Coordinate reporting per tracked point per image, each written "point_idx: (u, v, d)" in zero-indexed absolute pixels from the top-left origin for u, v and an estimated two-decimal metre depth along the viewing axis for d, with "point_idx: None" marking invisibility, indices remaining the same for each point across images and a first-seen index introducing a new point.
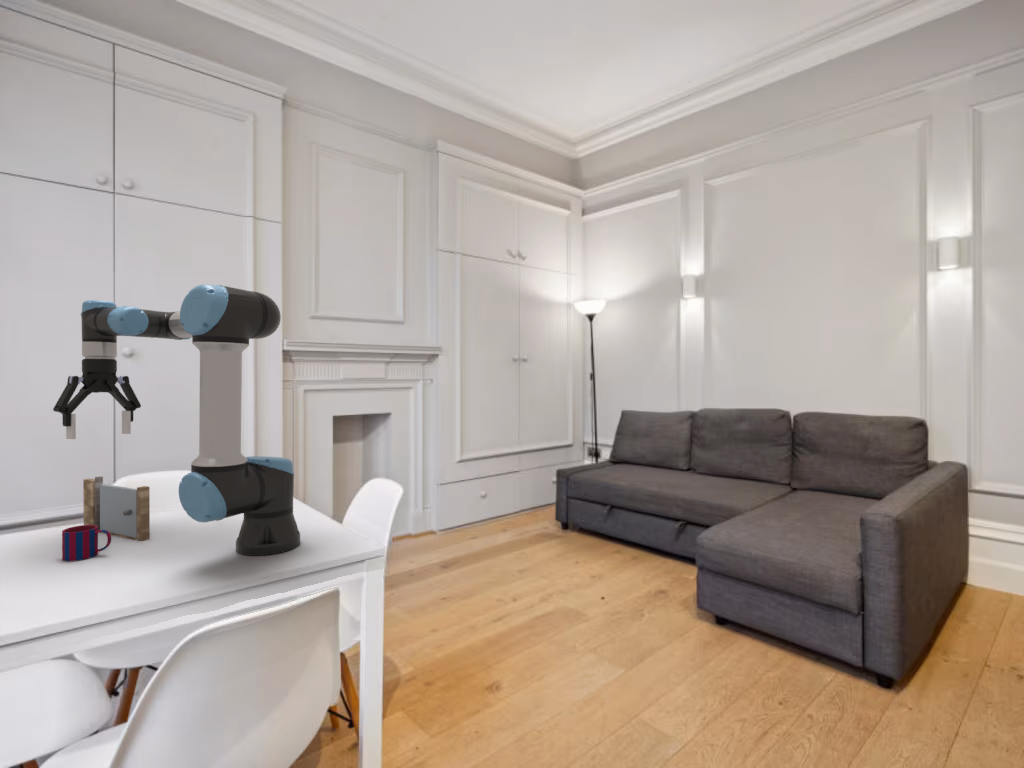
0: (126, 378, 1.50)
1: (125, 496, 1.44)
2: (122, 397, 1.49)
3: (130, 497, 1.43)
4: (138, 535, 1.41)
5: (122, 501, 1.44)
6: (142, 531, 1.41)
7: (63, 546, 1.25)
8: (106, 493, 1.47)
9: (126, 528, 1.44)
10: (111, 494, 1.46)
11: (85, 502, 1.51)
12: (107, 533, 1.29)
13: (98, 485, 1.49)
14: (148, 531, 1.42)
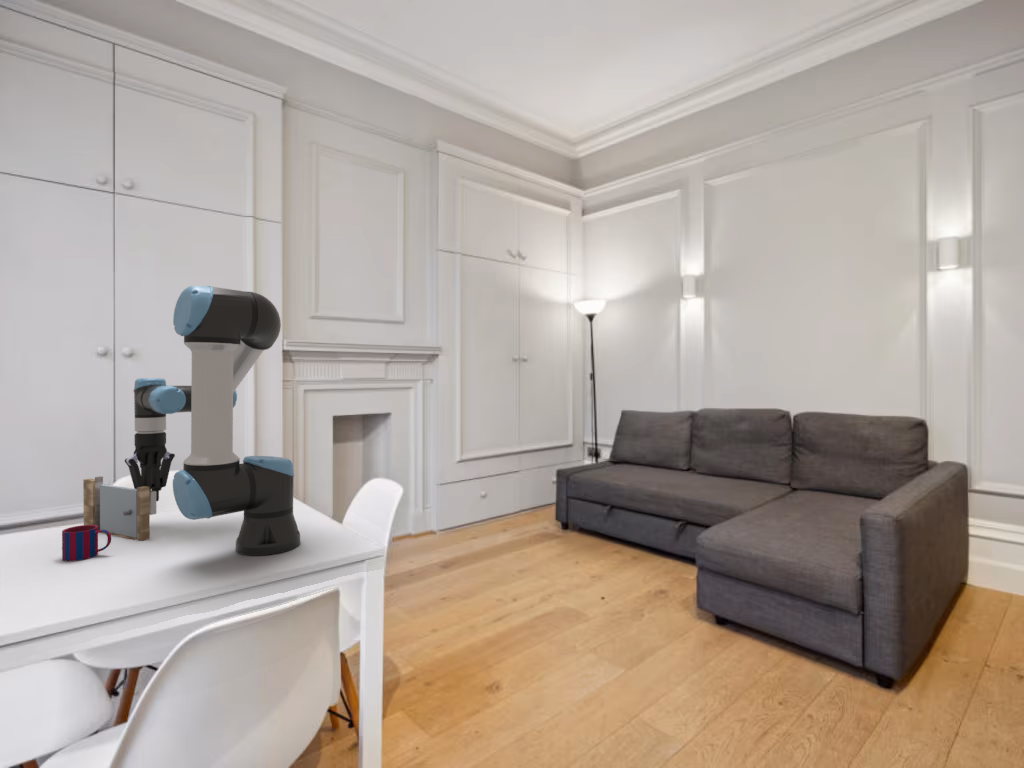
0: (172, 455, 1.57)
1: (125, 496, 1.44)
2: (158, 474, 1.53)
3: (130, 497, 1.43)
4: (138, 535, 1.41)
5: (122, 501, 1.44)
6: (142, 531, 1.41)
7: (63, 546, 1.25)
8: (106, 493, 1.47)
9: (126, 528, 1.44)
10: (111, 494, 1.46)
11: (85, 502, 1.51)
12: (107, 533, 1.29)
13: (98, 485, 1.49)
14: (148, 531, 1.42)
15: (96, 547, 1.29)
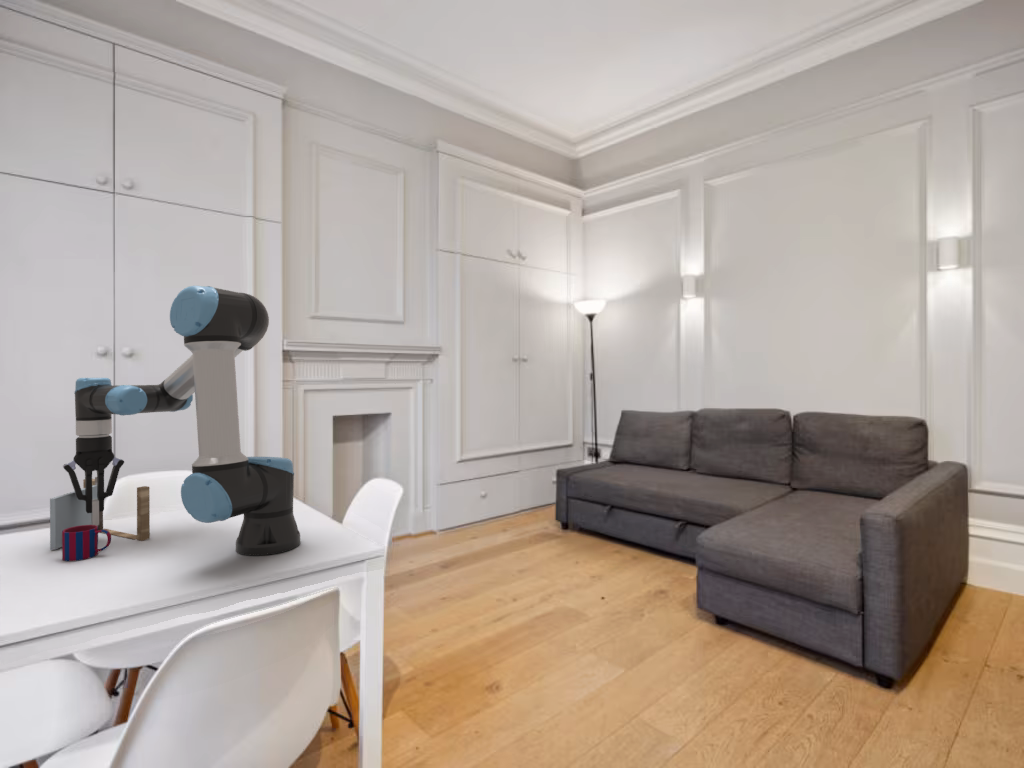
0: (121, 462, 1.44)
1: None
2: (101, 481, 1.41)
3: None
4: (138, 535, 1.41)
5: None
6: (142, 531, 1.41)
7: (63, 546, 1.25)
8: None
9: None
10: None
11: None
12: (107, 533, 1.29)
13: None
14: (148, 531, 1.42)
15: (96, 547, 1.29)
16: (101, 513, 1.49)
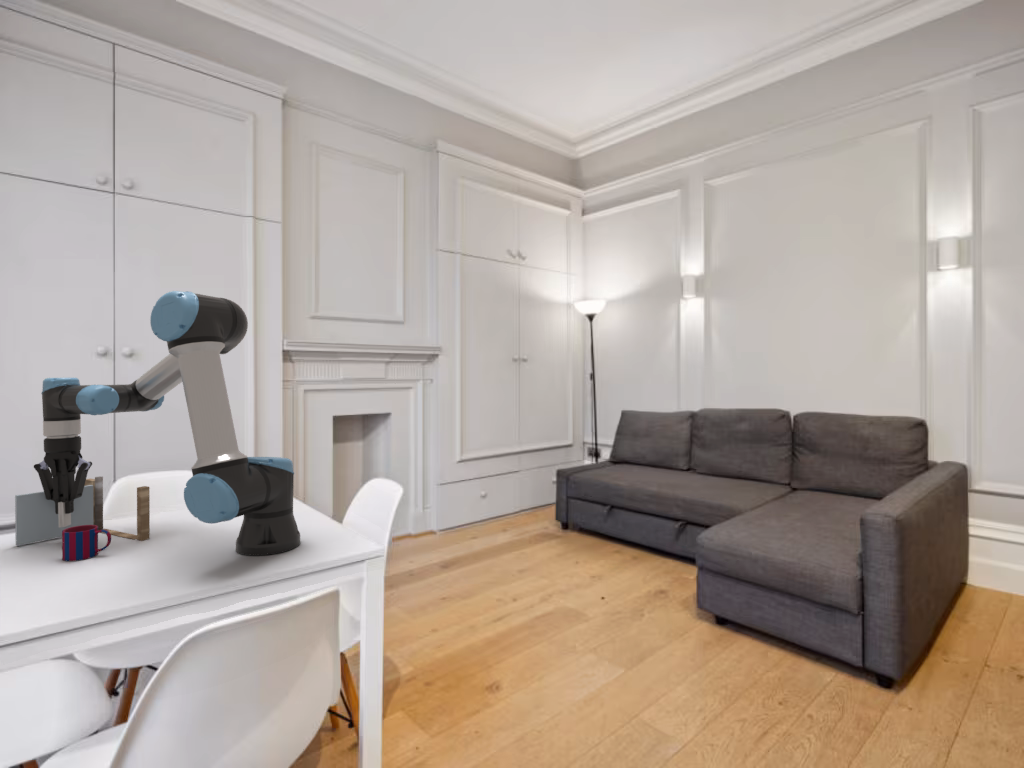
0: (83, 465, 1.39)
1: None
2: (65, 483, 1.38)
3: None
4: (138, 535, 1.41)
5: None
6: (142, 531, 1.41)
7: (63, 546, 1.25)
8: None
9: None
10: None
11: None
12: (107, 533, 1.29)
13: (98, 485, 1.49)
14: (148, 531, 1.42)
15: (96, 547, 1.29)
16: (101, 513, 1.49)
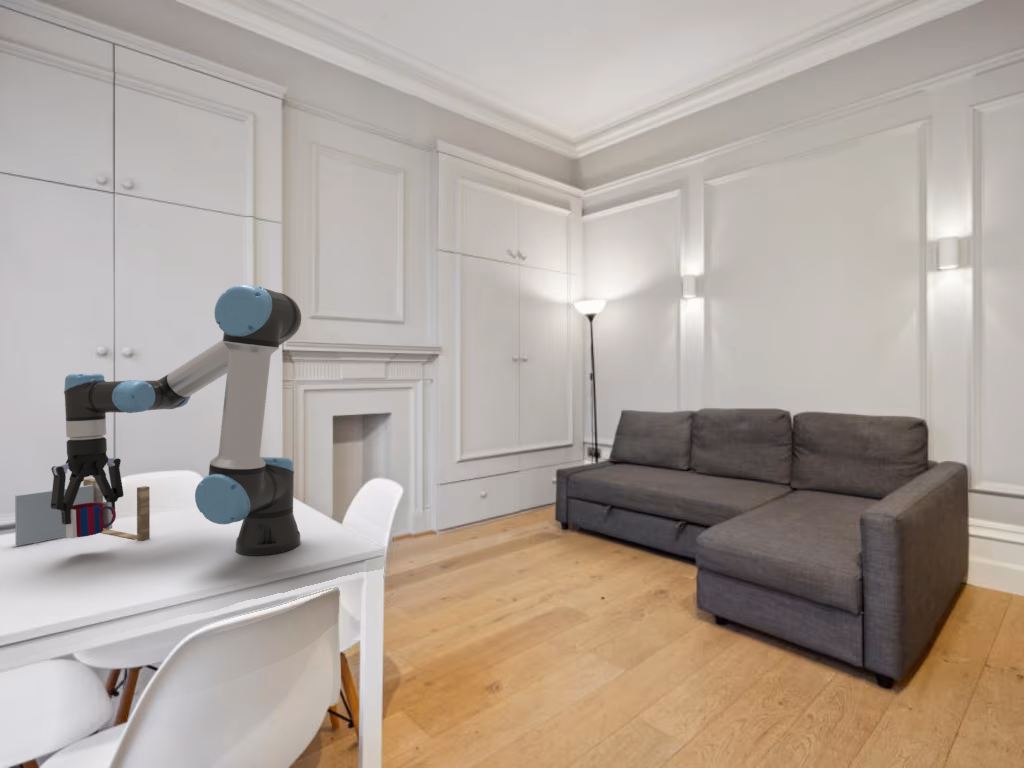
0: (117, 461, 1.33)
1: None
2: (106, 484, 1.31)
3: None
4: (138, 535, 1.41)
5: None
6: (142, 531, 1.41)
7: None
8: None
9: None
10: None
11: None
12: (111, 509, 1.29)
13: None
14: (148, 531, 1.42)
15: (101, 524, 1.29)
16: None
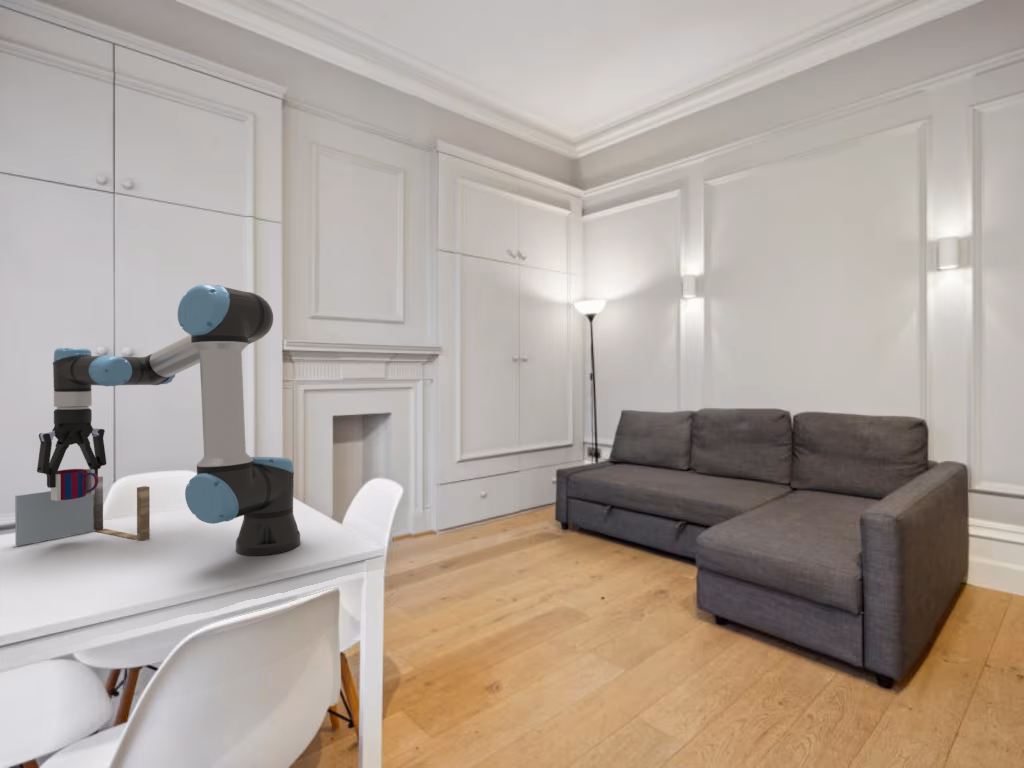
0: (102, 431, 1.42)
1: None
2: (90, 452, 1.40)
3: None
4: (138, 535, 1.41)
5: None
6: (142, 531, 1.41)
7: None
8: None
9: None
10: None
11: None
12: (94, 475, 1.38)
13: (98, 485, 1.49)
14: (148, 531, 1.42)
15: (84, 489, 1.39)
16: (101, 513, 1.49)
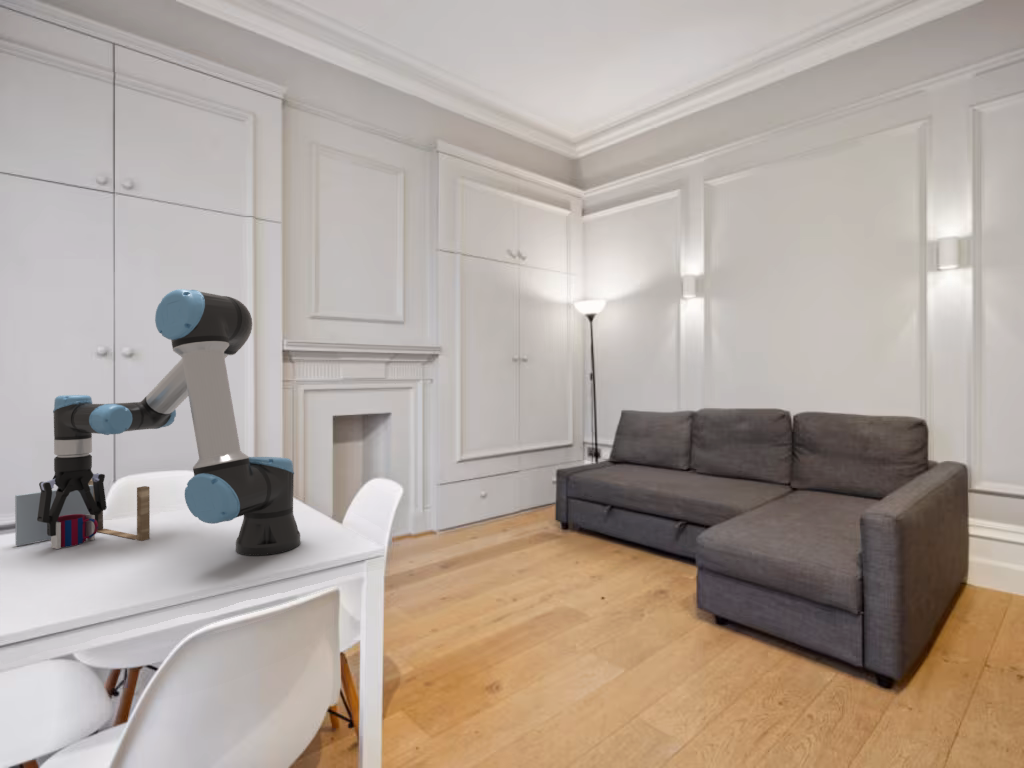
0: (102, 476, 1.42)
1: None
2: (90, 498, 1.40)
3: None
4: (138, 535, 1.41)
5: None
6: (142, 531, 1.41)
7: None
8: None
9: None
10: None
11: None
12: (94, 521, 1.38)
13: None
14: (148, 531, 1.42)
15: (84, 535, 1.39)
16: (101, 513, 1.49)
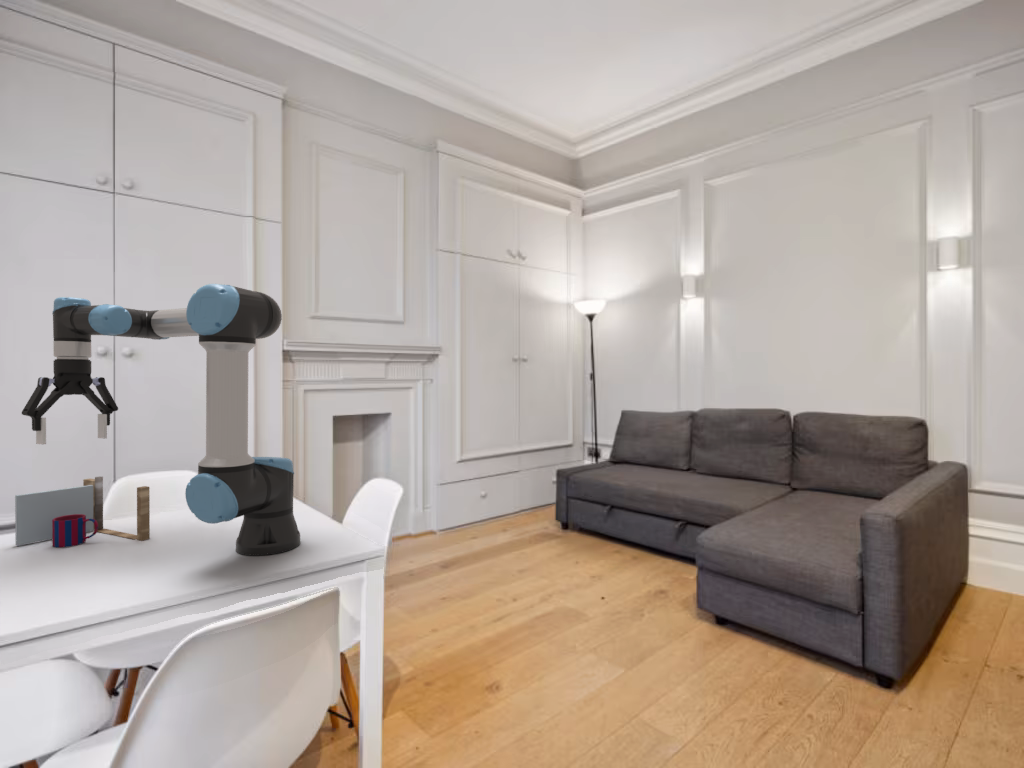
0: (102, 379, 1.42)
1: None
2: (97, 400, 1.41)
3: None
4: (138, 535, 1.41)
5: None
6: (142, 531, 1.41)
7: (53, 533, 1.35)
8: None
9: None
10: None
11: None
12: (94, 522, 1.38)
13: (98, 485, 1.49)
14: (148, 531, 1.42)
15: (84, 535, 1.39)
16: (101, 513, 1.49)
